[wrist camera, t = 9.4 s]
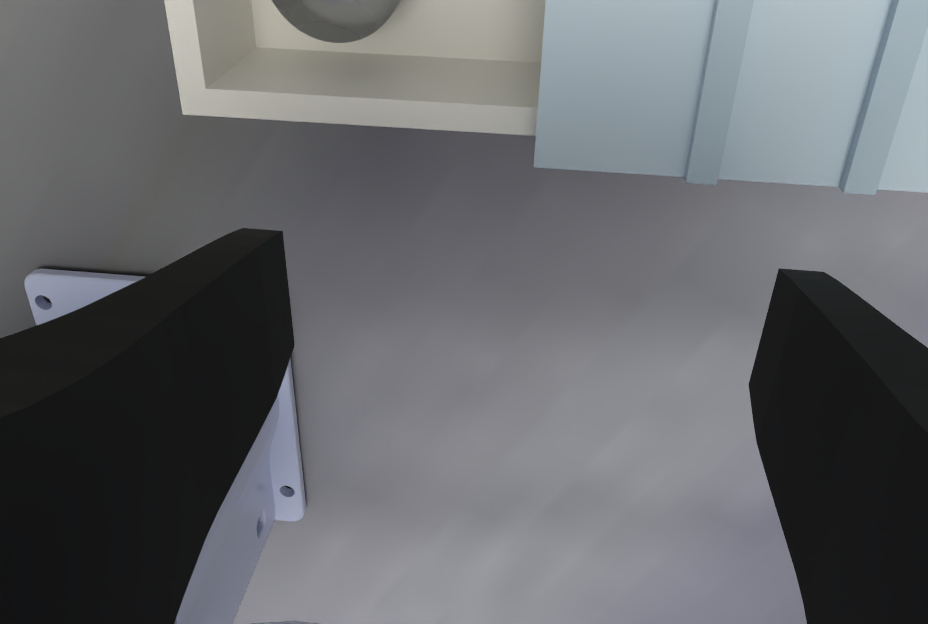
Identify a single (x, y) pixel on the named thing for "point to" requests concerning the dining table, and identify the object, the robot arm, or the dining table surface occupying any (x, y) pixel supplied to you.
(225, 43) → the tub
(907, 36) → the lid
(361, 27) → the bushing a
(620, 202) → the dining table surface
